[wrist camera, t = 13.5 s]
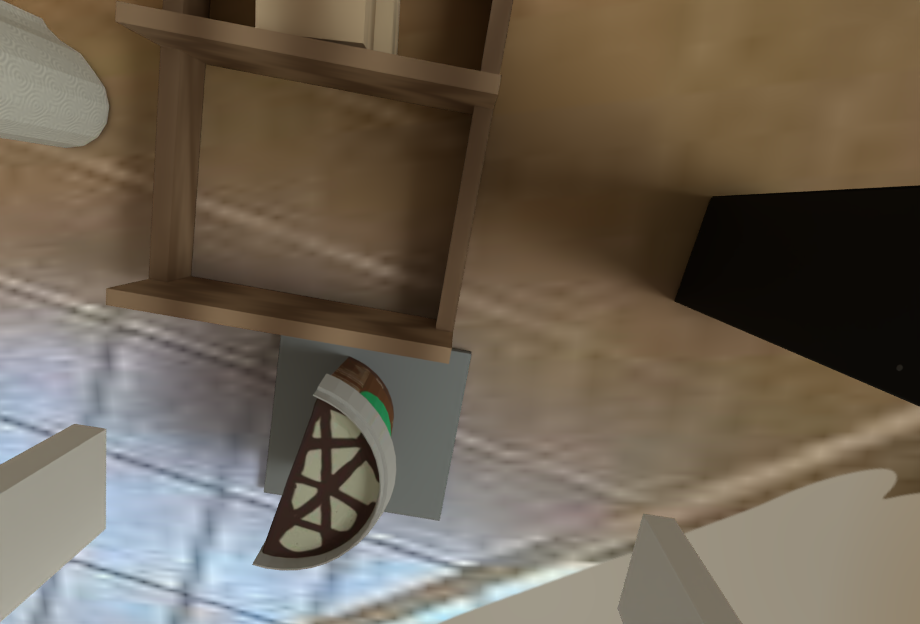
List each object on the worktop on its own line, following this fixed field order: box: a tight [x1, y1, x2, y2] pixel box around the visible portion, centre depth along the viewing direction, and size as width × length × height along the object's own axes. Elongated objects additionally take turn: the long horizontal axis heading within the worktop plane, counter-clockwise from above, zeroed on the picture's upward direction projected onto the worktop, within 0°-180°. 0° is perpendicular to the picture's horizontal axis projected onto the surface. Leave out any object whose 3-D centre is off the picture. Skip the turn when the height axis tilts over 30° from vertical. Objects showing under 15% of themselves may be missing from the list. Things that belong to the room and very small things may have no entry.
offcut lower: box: [373, 0, 400, 55], centre depth 31 cm, size 8×4×3 cm, turn 85°
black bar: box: [675, 185, 920, 406], centre depth 22 cm, size 8×8×28 cm
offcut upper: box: [255, 0, 376, 50], centre depth 28 cm, size 6×4×3 cm
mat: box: [264, 335, 471, 521], centre depth 38 cm, size 14×14×1 cm
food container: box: [252, 356, 396, 570], centre depth 33 cm, size 12×6×10 cm, turn 158°
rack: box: [106, 0, 513, 364], centre depth 30 cm, size 21×24×7 cm
